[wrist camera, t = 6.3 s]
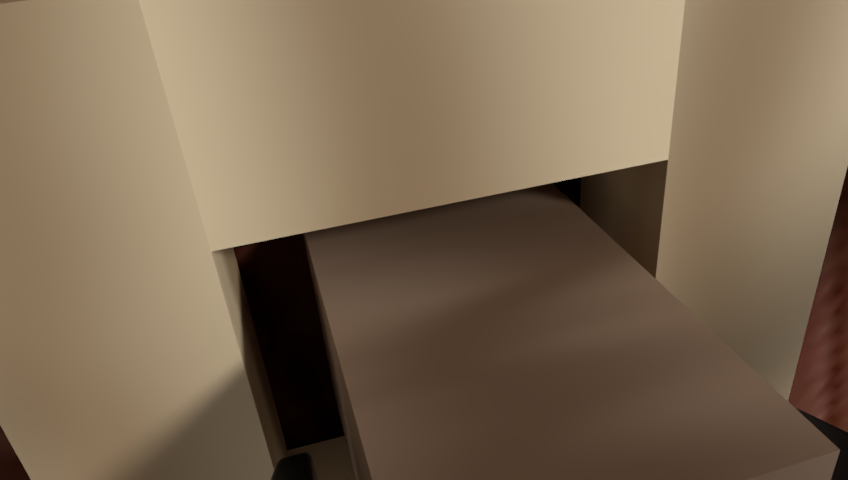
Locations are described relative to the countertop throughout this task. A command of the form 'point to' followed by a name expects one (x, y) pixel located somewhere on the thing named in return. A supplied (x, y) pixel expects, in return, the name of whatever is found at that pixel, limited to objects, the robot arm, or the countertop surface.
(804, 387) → the countertop surface
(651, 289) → the sliding drawer box
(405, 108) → the square wooden frame
